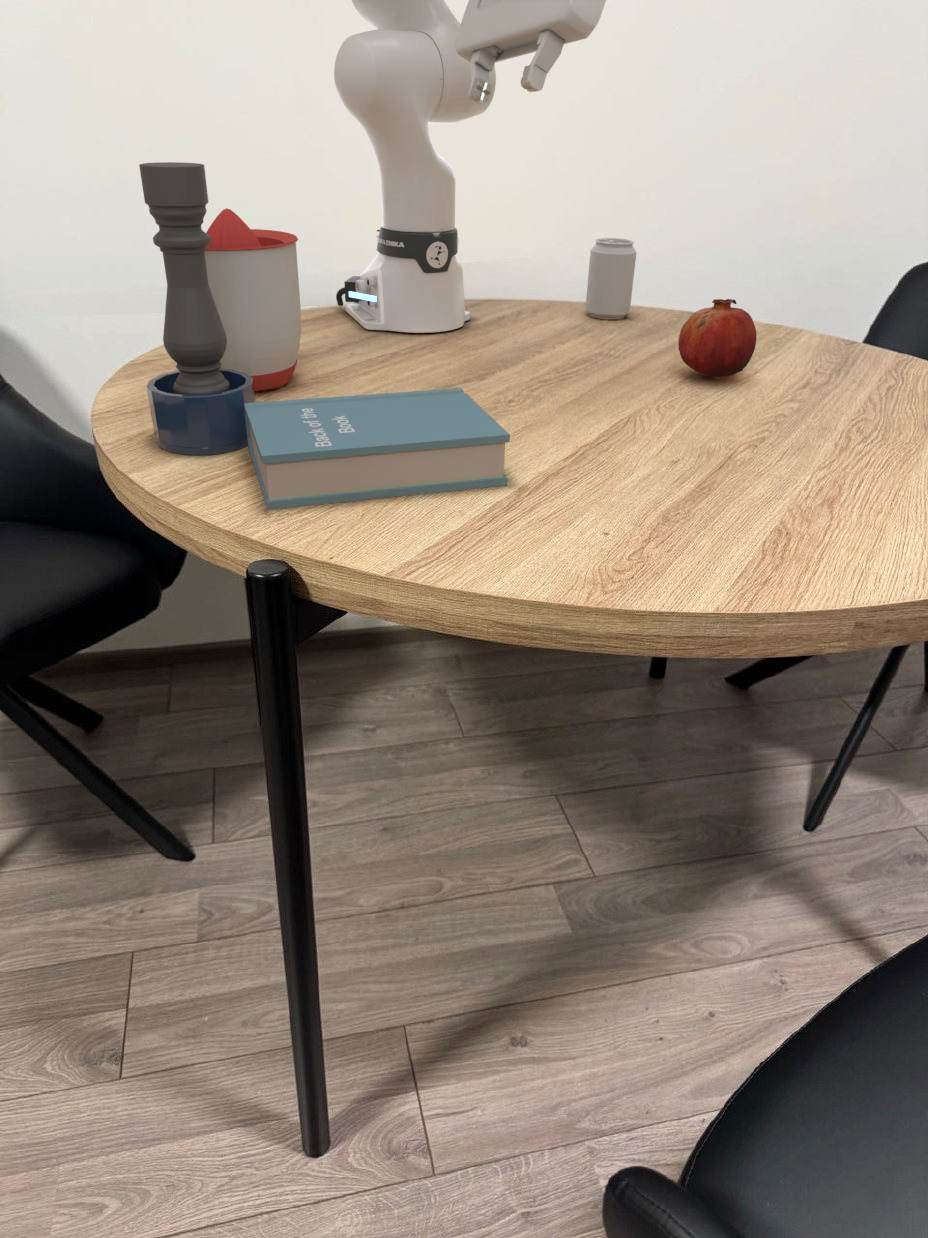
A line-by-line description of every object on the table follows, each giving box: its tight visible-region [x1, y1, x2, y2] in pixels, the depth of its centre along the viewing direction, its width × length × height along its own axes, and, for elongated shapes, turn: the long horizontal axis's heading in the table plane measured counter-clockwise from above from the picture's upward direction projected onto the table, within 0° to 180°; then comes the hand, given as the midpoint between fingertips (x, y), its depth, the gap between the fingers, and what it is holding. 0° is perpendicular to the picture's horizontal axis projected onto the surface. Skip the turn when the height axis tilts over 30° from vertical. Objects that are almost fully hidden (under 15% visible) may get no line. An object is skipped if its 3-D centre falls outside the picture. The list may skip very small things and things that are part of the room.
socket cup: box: [146, 368, 256, 456], centre depth 91 cm, size 10×10×6 cm
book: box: [244, 387, 511, 511], centre depth 86 cm, size 23×16×5 cm
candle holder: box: [138, 161, 230, 395], centre depth 86 cm, size 6×6×25 cm
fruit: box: [678, 298, 757, 378], centre depth 115 cm, size 11×10×10 cm
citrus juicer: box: [205, 207, 302, 392], centre depth 106 cm, size 16×17×20 cm
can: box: [584, 237, 637, 320], centre depth 146 cm, size 8×8×12 cm
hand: (502, 94), depth 89 cm, fingers open, 8 cm apart
